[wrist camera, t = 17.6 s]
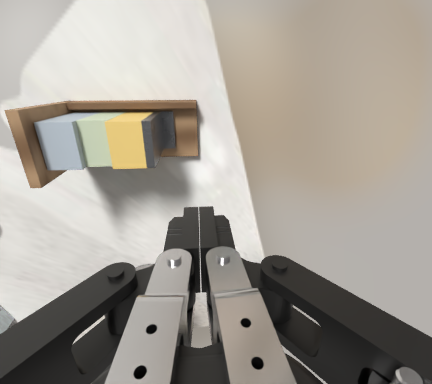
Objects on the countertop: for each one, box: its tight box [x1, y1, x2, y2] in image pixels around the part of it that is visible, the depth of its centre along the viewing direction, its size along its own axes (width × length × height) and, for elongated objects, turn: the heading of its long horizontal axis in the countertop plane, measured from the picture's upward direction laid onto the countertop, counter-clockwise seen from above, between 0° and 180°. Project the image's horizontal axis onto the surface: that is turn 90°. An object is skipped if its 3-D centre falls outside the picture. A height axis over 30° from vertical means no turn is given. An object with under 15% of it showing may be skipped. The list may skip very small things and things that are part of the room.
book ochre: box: [105, 112, 153, 169], centre depth 33 cm, size 6×4×10 cm
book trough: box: [5, 100, 198, 188], centre depth 33 cm, size 8×19×13 cm, turn 90°
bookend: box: [141, 111, 176, 168], centre depth 33 cm, size 6×3×10 cm, turn 0°
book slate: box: [34, 112, 101, 170], centre depth 33 cm, size 6×4×10 cm
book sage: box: [76, 112, 126, 167], centre depth 33 cm, size 6×4×9 cm, turn 0°
